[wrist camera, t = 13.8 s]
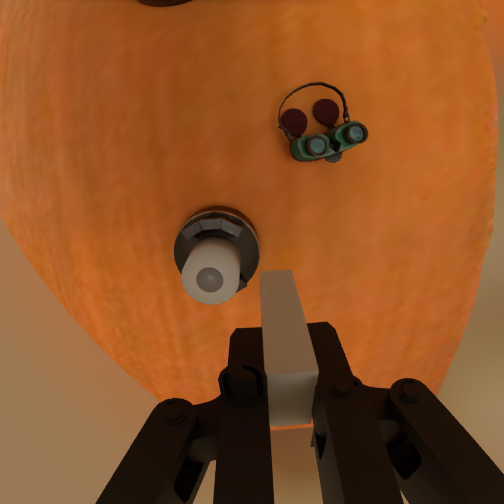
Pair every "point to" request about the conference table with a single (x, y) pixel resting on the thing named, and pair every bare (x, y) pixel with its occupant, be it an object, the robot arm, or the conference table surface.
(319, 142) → the binoculars
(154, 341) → the conference table surface
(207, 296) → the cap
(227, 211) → the black round base
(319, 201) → the conference table surface
